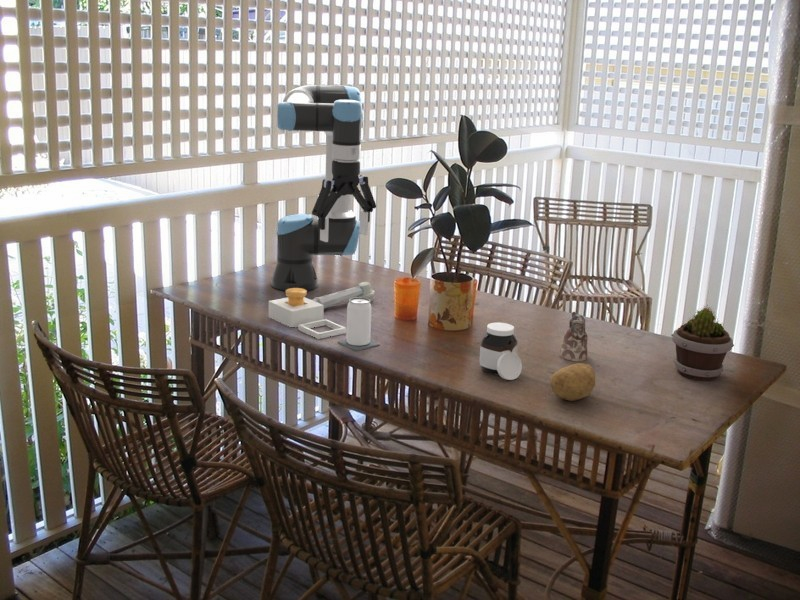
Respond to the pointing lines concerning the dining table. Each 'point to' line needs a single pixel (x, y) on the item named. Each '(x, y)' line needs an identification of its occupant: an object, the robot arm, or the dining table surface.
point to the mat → (356, 348)
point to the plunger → (296, 296)
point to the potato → (573, 381)
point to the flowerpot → (701, 346)
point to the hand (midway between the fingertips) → (344, 237)
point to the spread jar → (500, 351)
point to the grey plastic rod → (346, 295)
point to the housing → (303, 317)
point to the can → (358, 321)
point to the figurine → (575, 340)
